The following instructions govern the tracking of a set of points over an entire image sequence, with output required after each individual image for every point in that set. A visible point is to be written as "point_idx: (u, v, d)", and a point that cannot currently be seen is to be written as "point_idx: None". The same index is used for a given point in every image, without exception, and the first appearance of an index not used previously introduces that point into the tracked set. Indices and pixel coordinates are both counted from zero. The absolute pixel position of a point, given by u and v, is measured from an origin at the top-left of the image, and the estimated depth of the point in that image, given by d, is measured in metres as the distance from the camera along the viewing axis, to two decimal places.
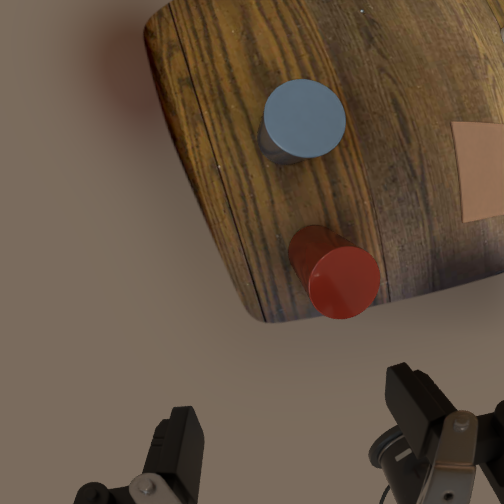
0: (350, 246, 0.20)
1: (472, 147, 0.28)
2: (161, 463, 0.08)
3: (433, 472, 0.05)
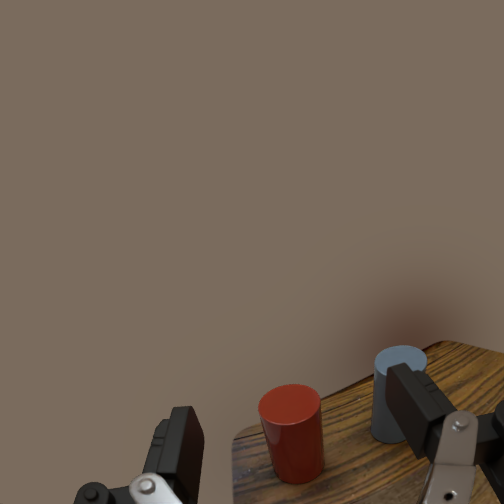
0: None
1: None
2: (161, 463, 0.08)
3: (433, 472, 0.05)
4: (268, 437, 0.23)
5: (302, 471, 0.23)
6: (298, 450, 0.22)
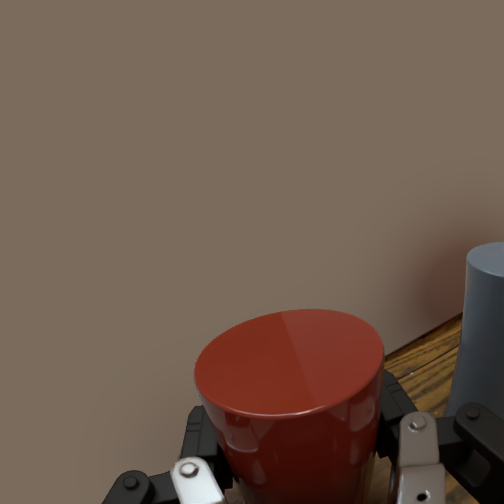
0: None
1: None
2: (200, 447, 0.08)
3: (399, 476, 0.05)
4: (226, 456, 0.07)
5: None
6: (316, 495, 0.07)
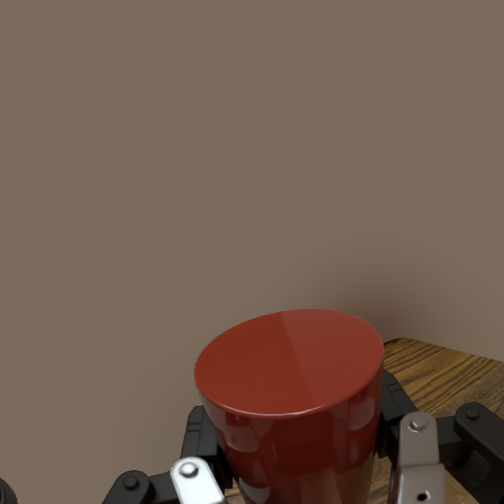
0: None
1: None
2: (200, 447, 0.08)
3: (400, 476, 0.05)
4: (226, 456, 0.07)
5: None
6: (315, 495, 0.07)
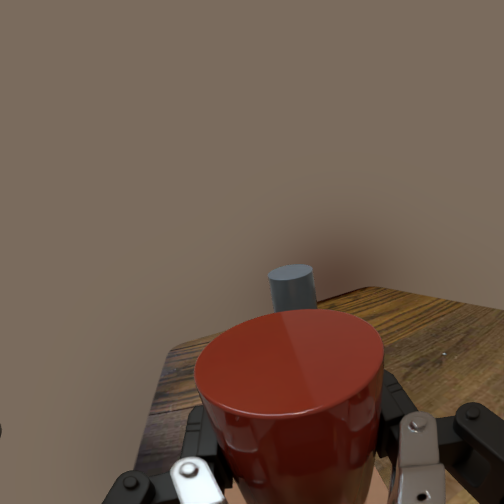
0: None
1: None
2: (200, 446, 0.08)
3: (400, 476, 0.05)
4: (226, 456, 0.07)
5: None
6: (315, 495, 0.07)
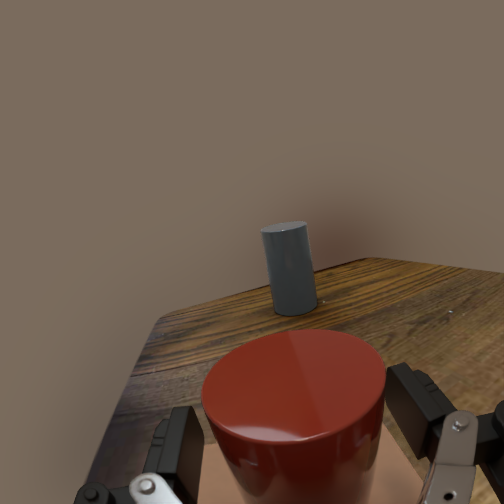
0: None
1: None
2: (161, 463, 0.08)
3: (433, 472, 0.05)
4: (233, 472, 0.08)
5: None
6: None
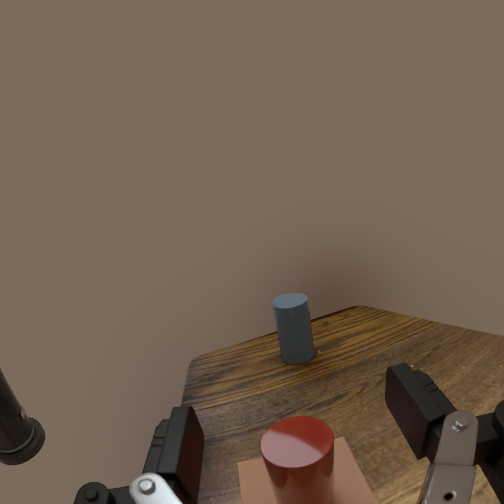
0: (333, 437, 0.18)
1: None
2: (161, 463, 0.08)
3: (433, 472, 0.05)
4: (271, 478, 0.18)
5: None
6: (306, 492, 0.17)
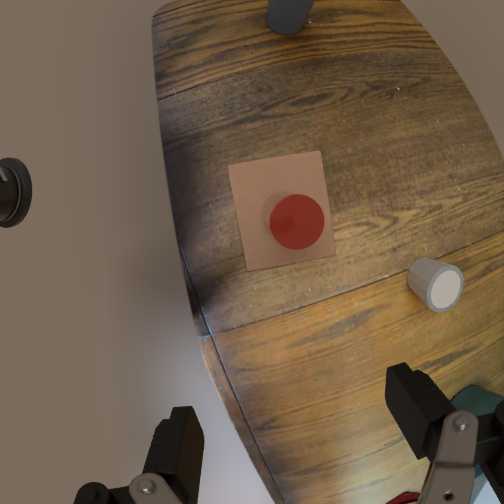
0: (323, 224, 0.29)
1: (300, 175, 0.38)
2: (161, 463, 0.08)
3: (433, 472, 0.05)
4: None
5: None
6: None
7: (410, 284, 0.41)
